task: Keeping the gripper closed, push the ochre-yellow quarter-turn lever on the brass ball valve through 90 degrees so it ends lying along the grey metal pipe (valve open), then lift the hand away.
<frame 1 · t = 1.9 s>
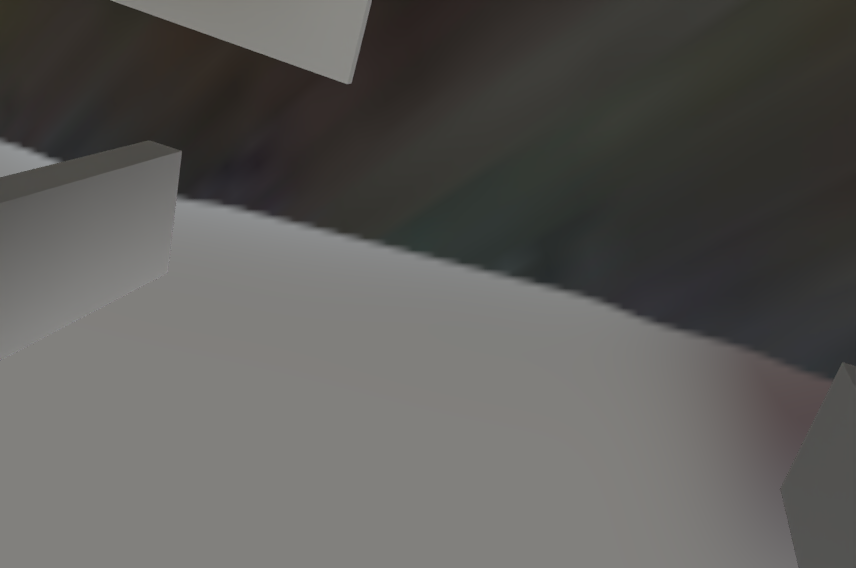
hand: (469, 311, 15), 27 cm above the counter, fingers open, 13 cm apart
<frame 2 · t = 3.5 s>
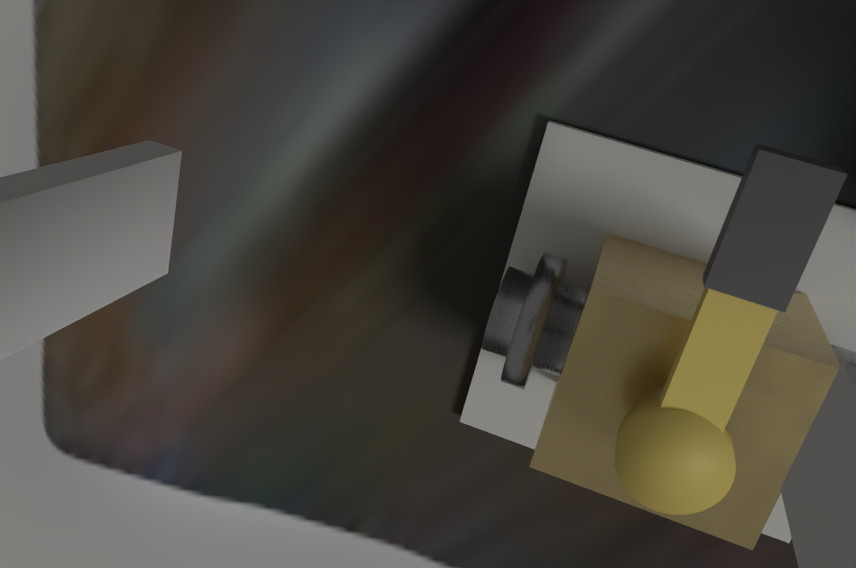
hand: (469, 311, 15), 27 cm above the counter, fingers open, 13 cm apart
lever: (720, 345, 29), point 12 cm above the counter, hinge at 0.0°
mat: (673, 336, 42), on the counter
valve: (673, 341, 41), resting on mat
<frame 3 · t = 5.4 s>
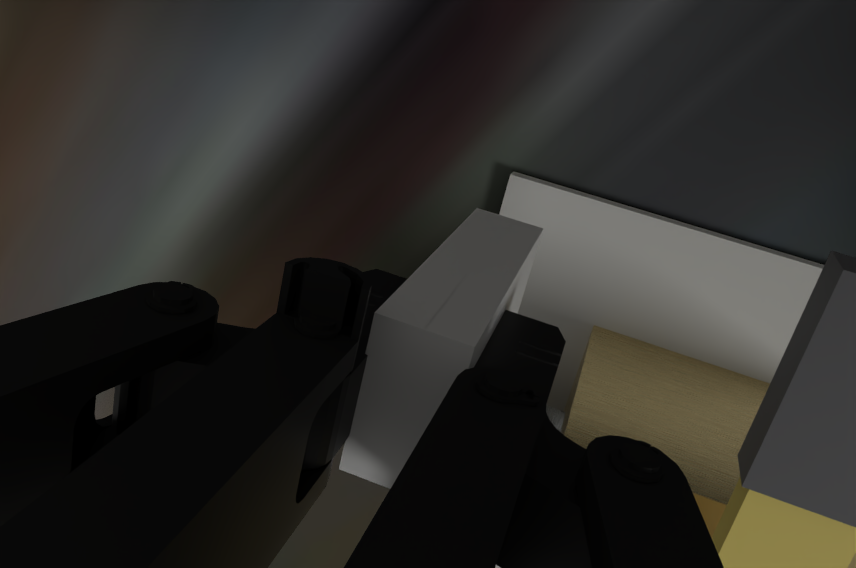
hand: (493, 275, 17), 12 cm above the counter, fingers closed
mat: (685, 463, 31), on the counter
valve: (685, 471, 30), resting on mat
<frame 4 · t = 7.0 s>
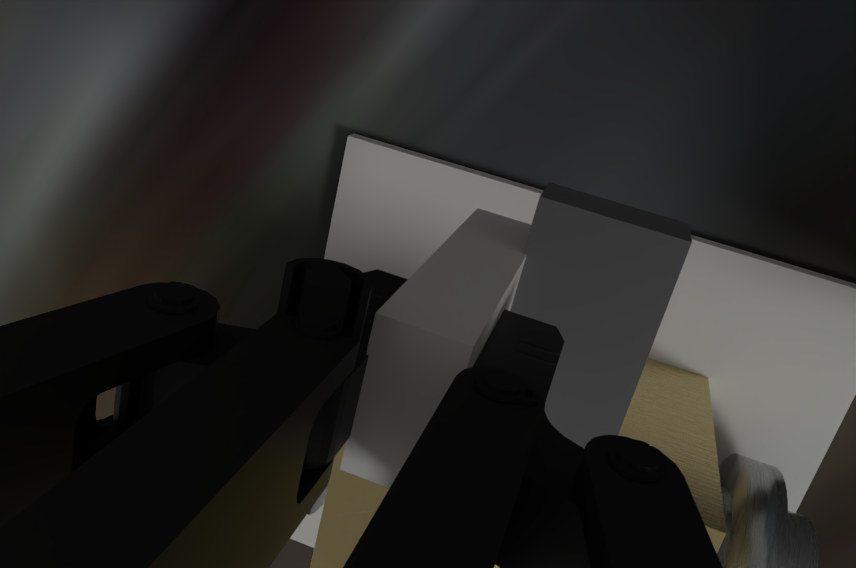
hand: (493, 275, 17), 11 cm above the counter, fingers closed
lever: (515, 510, 18), point 12 cm above the counter, hinge at 0.0°, touching gripper
mat: (536, 428, 31), on the counter
valve: (533, 435, 30), resting on mat
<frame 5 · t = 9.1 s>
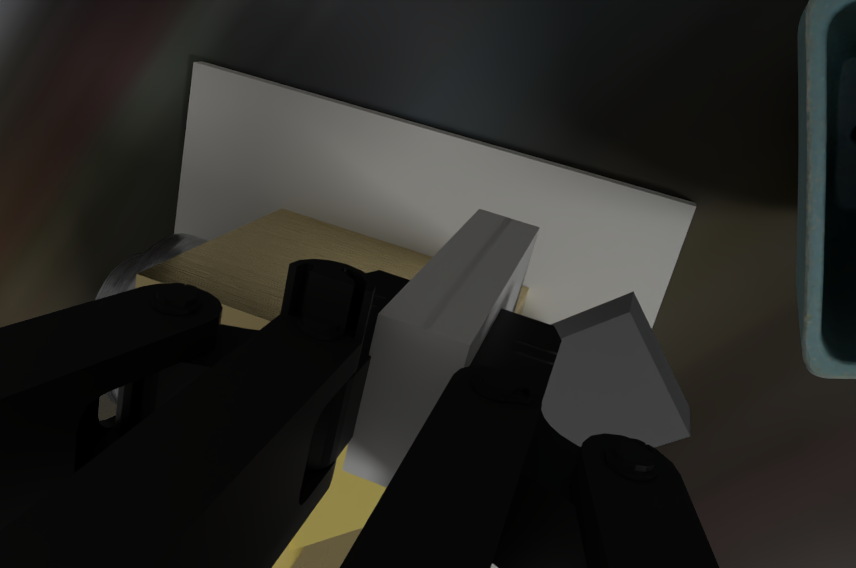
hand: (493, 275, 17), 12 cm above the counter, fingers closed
lever: (374, 464, 19), point 12 cm above the counter, hinge at 48.0°, touching gripper
mat: (382, 346, 32), on the counter
valve: (377, 352, 31), resting on mat
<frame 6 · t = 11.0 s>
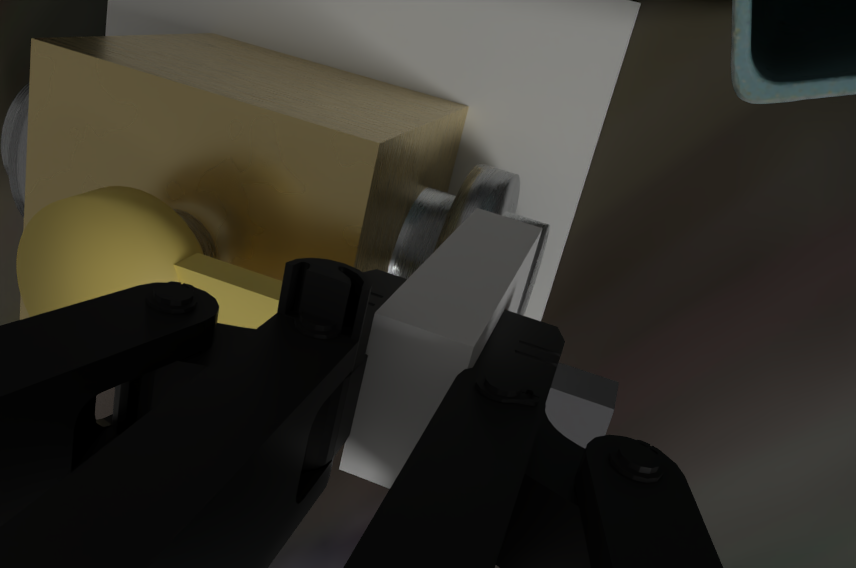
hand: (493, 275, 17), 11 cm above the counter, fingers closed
lever: (296, 345, 18), point 12 cm above the counter, hinge at 89.5°, touching gripper
mat: (321, 185, 30), on the counter
valve: (314, 188, 30), resting on mat
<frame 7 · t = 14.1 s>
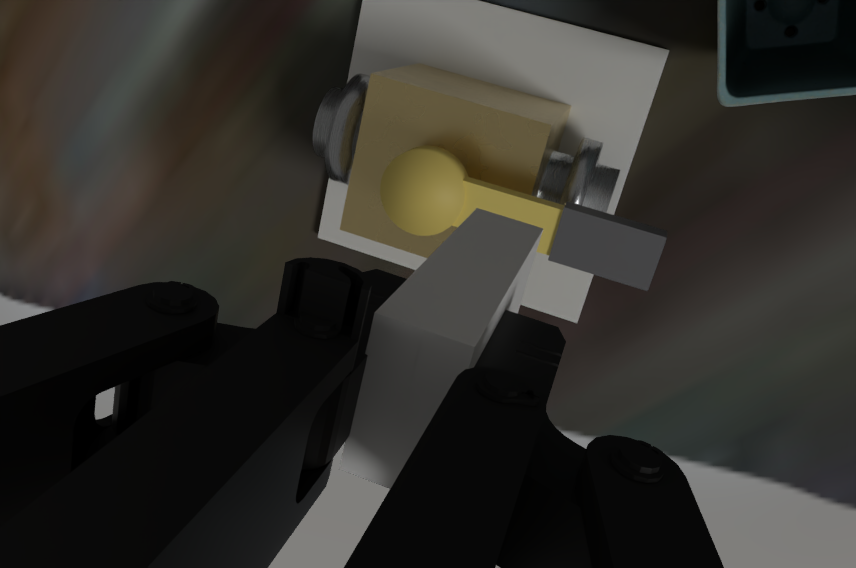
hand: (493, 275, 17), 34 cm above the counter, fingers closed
lever: (517, 218, 40), point 12 cm above the counter, hinge at 89.6°
mat: (478, 151, 52), on the counter
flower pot: (790, 3, 44), on the counter
valve: (476, 153, 51), resting on mat
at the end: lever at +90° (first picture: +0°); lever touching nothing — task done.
